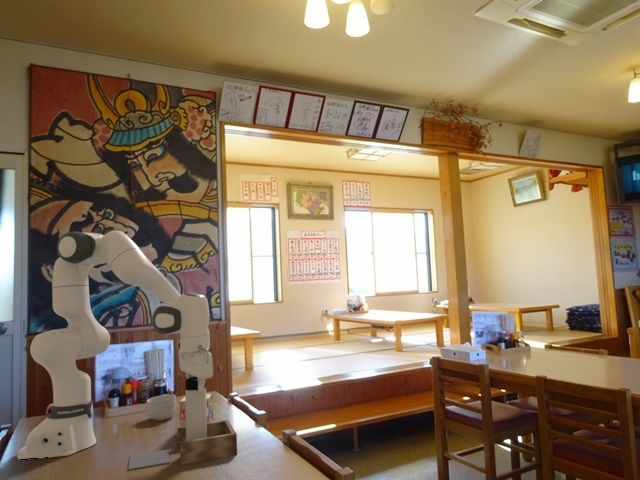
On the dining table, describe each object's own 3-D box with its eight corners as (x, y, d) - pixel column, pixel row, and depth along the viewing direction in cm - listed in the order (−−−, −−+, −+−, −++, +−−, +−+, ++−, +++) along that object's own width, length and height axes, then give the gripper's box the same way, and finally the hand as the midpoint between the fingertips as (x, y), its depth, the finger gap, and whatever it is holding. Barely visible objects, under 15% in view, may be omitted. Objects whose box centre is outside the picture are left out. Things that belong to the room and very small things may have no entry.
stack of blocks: (197, 419, 177) (196, 386, 178) (213, 418, 177) (212, 385, 178) (180, 437, 156) (179, 400, 157) (198, 436, 156) (197, 399, 157)
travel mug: (212, 440, 143) (210, 375, 145) (198, 448, 137) (197, 379, 139) (195, 438, 145) (194, 374, 147) (181, 446, 139) (180, 379, 141)
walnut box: (180, 464, 131) (180, 443, 132) (177, 446, 146) (177, 427, 147) (237, 454, 137) (236, 433, 137) (228, 438, 152) (227, 419, 153)
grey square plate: (128, 470, 129) (128, 469, 129) (130, 457, 139) (130, 456, 139) (169, 463, 133) (169, 461, 133) (168, 450, 143) (168, 449, 143)
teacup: (170, 421, 174) (170, 400, 175) (142, 423, 174) (142, 401, 175) (182, 411, 188) (181, 391, 189) (156, 412, 188) (155, 393, 189)
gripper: (217, 346, 137) (218, 393, 136) (193, 340, 154) (194, 382, 153) (197, 348, 134) (198, 397, 132) (175, 342, 150) (175, 385, 149)
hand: (196, 389), depth 143 cm, fingers closed on travel mug, 6 cm apart
